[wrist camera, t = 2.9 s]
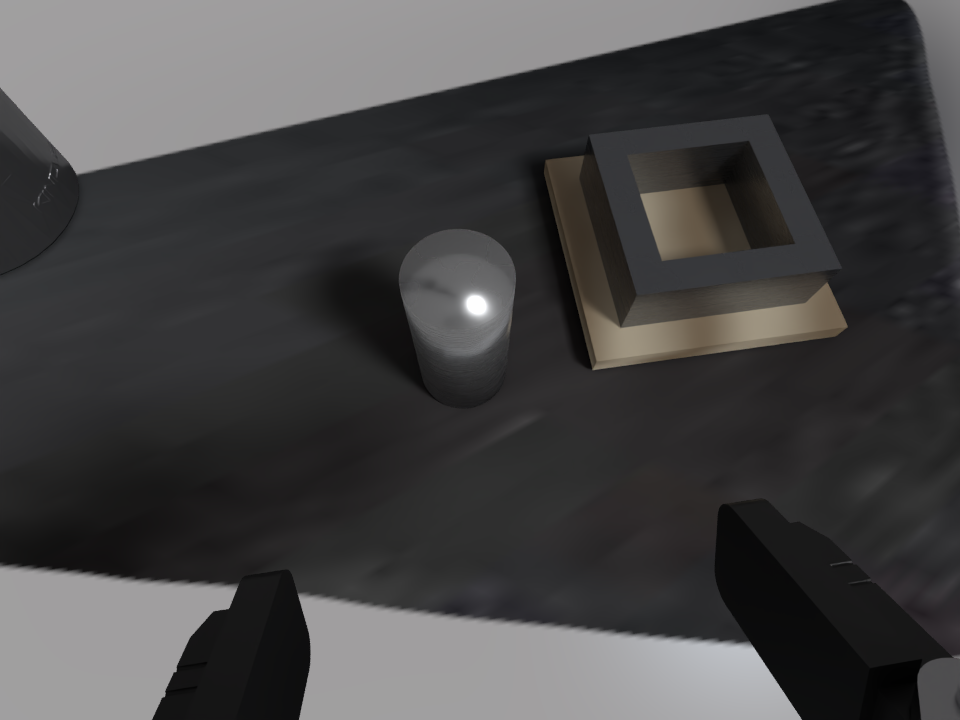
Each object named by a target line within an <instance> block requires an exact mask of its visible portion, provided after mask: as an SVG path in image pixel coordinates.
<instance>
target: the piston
mask: <svg viewBox="0 0 960 720" xmlns="http://www.w3.org/2000/svg"><path fill="white" fill-rule="evenodd" d="M515 283H516V274H515V268H514V265H513V262H512V260H511V258H510V256H509V254H508V253H507V251H506V250H505V249H504V248H503V247H502V246H501V245H500V244H499V243H498V242H497V241H495V240H494V239H492V238H490V237H489V236H487V235H485V234H482V233H479V232H476V231H472V230H466V229H451V230H445V231H441V232H437V233H434V234H432V235H430V236H428V237H426V238H424V239H422V240H421V241H420V242H418V243H417V244H416V245H415V246H414V247H413V248H412V249H411V250H410V251H409V252H408V254H407V255H406V257H405V258H404V261H403V263H402V265H401V269H400V273H399V287H400V292H401V296H402V300H403V304H404V308H405V312H406V316H407V320H408V323H409V327H410V331H411V335H412V339H413V343H414V347H415V351H416V355H417V359H418V363H419V367H420V371H421V375H422V379H423V382H424V384H425V386H426V388H427V390H428V391H429V393H430V394H431V395H432V396H433V397H434V398H435V399H437V400H438V401H439V402H441V403H443V404H445V405H447V406H451V407H455V408H471V407H476V406H479V405H481V404H483V403H486V402H487V401H489V400H490V399H491V398H492V397H494V396H495V395H496V393H497V392H498V391H499V390H500V388H501V386H502V384H503V382H504V379H505V375H506V367H507V357H508V348H509V339H510V330H511V320H512V311H513V302H514V293H515Z"/></svg>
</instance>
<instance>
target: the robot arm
mask: <svg viewBox="0 0 960 720" xmlns="http://www.w3.org/2000/svg"><path fill="white" fill-rule="evenodd" d="M78 193H79V184H78V180H77V176H76V173H75V171H74V170H73V168H72V167H71V165H70V164H69V162H68V161H67V160H66V159H65V158H64V157H63V156H62V155H61V153H60V152H59V151H58V150H57V149H56V148H55V147H54V146H53V145H52V144H51V143H50V142H49V141H48V140H47V138H46V137H45V136H44V135H43V134H42V133H41V132H40V131H39V130H38V129H37V128H36V126H34V124H33V123H32V122H31V121H30V120H29V119H28V118H27V117H26V116H25V115H24V114H23V112H22V111H21V110H20V109H19V108H18V107H17V106H16V104H14V102H13V101H12V100H11V99H10V98H9V97H8V96H7V95H6V94H5V93H4V92H3V91H2V89H1V88H0V274H3V273H5V272H8V271H10V270H12V269H14V268H17V267H19V266H21V265H23V264H24V263H26V262H27V261H29V260H31V259H32V258H34V257H36V256H37V255H39V254H40V253H41V252H42V251H43V250H45V249H46V248H47V247H48V246H49V245H50V244H52V243H53V242H54V241H55V240H56V238H57V237H58V236H59V235H60V234H61V232H62V231H63V230H64V229H65V228H66V226H67V224H68V223H69V221H70V219H71V217H72V215H73V214H74V211H75V208H76V205H77V201H78ZM715 578H716V583H717V586H718V590H719V592H720V595H721V597H722V599H723V601H724V603H725V605H726V606H727V608H728V609H729V611H730V612H731V614H732V615H733V617H734V618H735V620H736V621H737V623H738V624H739V626H740V627H741V629H742V630H743V632H744V633H745V635H746V636H747V638H748V639H749V641H750V642H751V644H752V645H753V647H754V648H755V650H756V651H757V653H758V654H759V656H760V657H761V659H762V660H763V662H764V663H765V665H766V666H767V668H768V669H769V671H770V672H771V674H772V675H773V677H774V678H775V680H776V681H777V683H778V684H779V686H780V687H781V689H782V690H783V692H784V693H785V695H786V696H787V698H788V699H789V701H790V702H791V704H792V705H793V707H794V708H795V710H796V711H797V713H798V714H799V716H800V717H801V719H802V720H960V659H959V658H953V657H952V656H951V655H950V654H949V653H948V652H947V651H946V650H945V649H944V648H943V647H942V646H941V645H939V644H938V643H937V642H936V641H935V640H934V639H933V638H932V637H931V636H930V635H929V634H928V633H927V632H926V631H925V630H924V629H923V628H922V627H921V626H920V625H919V624H918V623H917V622H916V621H915V620H913V619H912V618H911V617H910V616H909V615H908V614H907V613H906V612H905V611H904V610H903V609H902V608H901V607H900V606H899V605H898V604H897V603H896V602H895V601H894V600H893V599H892V598H891V597H890V596H889V595H887V594H886V593H885V592H884V591H883V590H882V589H881V588H880V587H879V586H878V585H877V584H876V583H872V582H871V578H870V577H869V576H868V575H867V574H866V573H865V572H864V571H862V570H861V569H860V568H859V567H858V566H857V565H853V563H852V560H851V559H850V558H849V557H848V556H847V555H846V554H845V553H844V552H843V551H842V550H841V549H840V548H839V547H838V546H836V545H835V544H834V543H833V542H832V541H831V540H830V539H829V538H827V537H826V536H824V535H822V534H820V533H818V532H817V531H815V530H813V529H811V528H810V527H808V526H806V525H804V524H802V523H801V522H795V523H789V522H788V521H787V520H786V519H785V518H784V517H783V516H782V515H781V514H780V513H779V512H778V511H777V510H776V509H775V508H774V507H773V506H772V505H771V504H770V503H769V502H768V501H767V500H765V499H754V500H748V501H741V502H735V503H728V504H723V505H721V506H720V508H719V511H718V521H717V536H716V552H715ZM309 668H310V638H309V632H308V629H307V625H306V622H305V618H304V615H303V611H302V608H301V604H300V601H299V597H298V594H297V590H296V587H295V583H294V580H293V577H292V574H291V573H290V571H289V570H280V571H274V572H267V573H261V574H254V575H248V576H244V577H243V578H242V580H241V581H240V584H239V586H238V588H237V591H236V593H235V596H234V598H233V601H232V604H231V606H230V608H229V609H226V610H220V611H214V612H213V613H212V614H211V615H210V616H209V617H208V618H207V619H206V621H205V622H204V623H203V624H202V625H201V626H200V627H199V628H198V630H197V631H196V632H195V633H194V634H193V635H192V636H191V638H190V639H189V641H188V643H187V645H186V648H185V650H184V652H183V654H182V656H181V658H180V661H179V663H178V665H177V672H174V674H173V676H172V678H171V680H170V682H169V684H168V686H167V689H166V691H165V692H166V695H165V697H163V698H162V700H161V702H160V704H159V706H158V708H157V710H156V712H155V715H154V717H153V719H152V720H299V717H300V711H301V706H302V702H303V697H304V693H305V687H306V683H307V678H308V673H309Z"/></svg>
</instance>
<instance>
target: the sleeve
mask: <svg viewBox="0 0 960 720" xmlns="http://www.w3.org/2000/svg"><path fill="white" fill-rule="evenodd" d="M579 180H580V184H581V187H582V191H583V194H584V198H585V201H586V205H587V209H588V212H589V216H590V219H591V223H592V227H593V230H594V234H595V237H596V241H597V245H598V248H599V252H600V255H601V259H602V262H603V266H604V270H605V273H606V277H607V280H608V284H609V288H610V291H611V295H612V298H613V302H614V306H615V309H616V313H617V316H618V320H619V323H620V327H621V328H625V327H632V326H640V325H647V324H654V323H662V322H669V321H677V320H684V319H691V318H699V317H706V316H714V315H721V314H729V313H736V312H743V311H751V310H758V309H766V308H773V307H780V306H788V305H795V304H803V303H806V302H807V301H808V300H809V299H810V298H811V297H812V296H813V295H814V294H815V293H816V292H817V291H819V290H820V289H821V288H822V287H823V286H824V285H825V284H826V283H827V282H828V281H829V280H830V279H831V278H832V277H833V276H835V275H836V274H837V273H838V272H839V271H840V270H841V269H842V267H841V265H840V263H839V261H838V259H837V257H836V255H835V253H834V251H833V248H832V246H831V244H830V242H829V240H828V238H827V236H826V234H825V232H824V230H823V228H822V226H821V223H820V221H819V219H818V217H817V215H816V213H815V211H814V209H813V207H812V205H811V203H810V200H809V198H808V196H807V194H806V192H805V190H804V188H803V186H802V184H801V182H800V180H799V178H798V175H797V173H796V171H795V169H794V167H793V165H792V163H791V161H790V159H789V157H788V155H787V152H786V150H785V148H784V146H783V144H782V142H781V140H780V138H779V136H778V134H777V132H776V130H775V127H774V125H773V123H772V121H771V119H770V117H769V115H768V114H767V115H758V116H749V117H741V118H732V119H723V120H715V121H706V122H697V123H688V124H680V125H671V126H662V127H653V128H645V129H636V130H627V131H618V132H610V133H601V134H592V135H589V137H588V141H587V146H586V150H585V154H584V159H583V163H582V168H581V172H580V176H579ZM719 184H725V187H726V189H727V192H728V194H729V196H730V199H731V201H732V204H733V206H734V209H735V211H736V214H737V216H738V218H739V221H740V223H741V226H742V228H743V231H744V233H745V236H746V238H747V240H748V243H749V245H750V248H751V250H744V251H736V252H728V253H720V254H713V255H705V256H697V257H689V258H681V259H674V260H666V261H662V259H661V256H660V253H659V250H658V247H657V244H656V241H655V238H654V235H653V232H652V229H651V226H650V223H649V220H648V217H647V214H646V211H645V208H644V205H643V202H642V199H641V196H640V194H645V193H653V192H661V191H670V190H678V189H686V188H694V187H703V186H711V185H719Z"/></svg>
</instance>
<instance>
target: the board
mask: <svg viewBox="0 0 960 720" xmlns="http://www.w3.org/2000/svg"><path fill="white" fill-rule="evenodd" d="M583 159H584V156H576V157H567V158H558V159H550V160H546V162H545V169H544V175H545V179H546V183H547V188H548V192H549V196H550V200H551V204H552V208H553V212H554V216H555V220H556V224H557V228H558V232H559V236H560V240H561V244H562V248H563V252H564V256H565V260H566V264H567V268H568V272H569V276H570V280H571V284H572V288H573V292H574V296H575V300H576V304H577V308H578V313H579V317H580V321H581V325H582V329H583V333H584V337H585V341H586V345H587V349H588V353H589V357H590V361H591V365H592V369H593V370H596V369H603V368H611V367H618V366H625V365H632V364H639V363H647V362H654V361H661V360H668V359H675V358H683V357H690V356H697V355H704V354H711V353H719V352H726V351H733V350H740V349H747V348H755V347H762V346H769V345H776V344H783V343H791V342H798V341H805V340H812V339H819V338H827V337H834V336H837V335H838V334H839V333H840V332H842V331H843V330H844V329H846V328H847V327H848V326H847V324H846V322H845V320H844V317H843V315H842V313H841V311H840V309H839V307H838V304H837V302H836V300H835V298H834V296H833V294H832V291H831V289H830V287H829V285H828V283H826V284H825V285H824V286H823V287H822V288H821V289H820V290H819V291H817V292H816V293H815V294H814V295H813V296H812V297H811V298H810V299H809V300H808V301H807V302H806V303H803V304H795V305H788V306H780V307H773V308H766V309H758V310H751V311H743V312H736V313H729V314H721V315H714V316H706V317H699V318H691V319H684V320H677V321H669V322H662V323H654V324H647V325H640V326H632V327H625V328H621V327H620V323H619V320H618V316H617V313H616V309H615V306H614V302H613V298H612V295H611V291H610V288H609V284H608V280H607V277H606V273H605V270H604V266H603V262H602V259H601V255H600V252H599V248H598V245H597V241H596V237H595V234H594V230H593V227H592V223H591V219H590V216H589V212H588V209H587V205H586V201H585V198H584V194H583V191H582V187H581V184H580V180H579V176H580V172H581V168H582V163H583ZM640 196H641V199H642V202H643V205H644V208H645V211H646V214H647V217H648V220H649V223H650V226H651V229H652V232H653V235H654V238H655V241H656V244H657V247H658V250H659V253H660V256H661V259H662V261H666V260H674V259H681V258H689V257H697V256H705V255H713V254H720V253H728V252H736V251H744V250H751V248H750V245H749V243H748V240H747V238H746V236H745V233H744V231H743V228H742V226H741V223H740V221H739V218H738V216H737V214H736V211H735V209H734V206H733V204H732V201H731V199H730V196H729V194H728V192H727V189H726V187H725V184H719V185H711V186H703V187H694V188H686V189H678V190H670V191H661V192H653V193H645V194H640Z"/></svg>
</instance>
